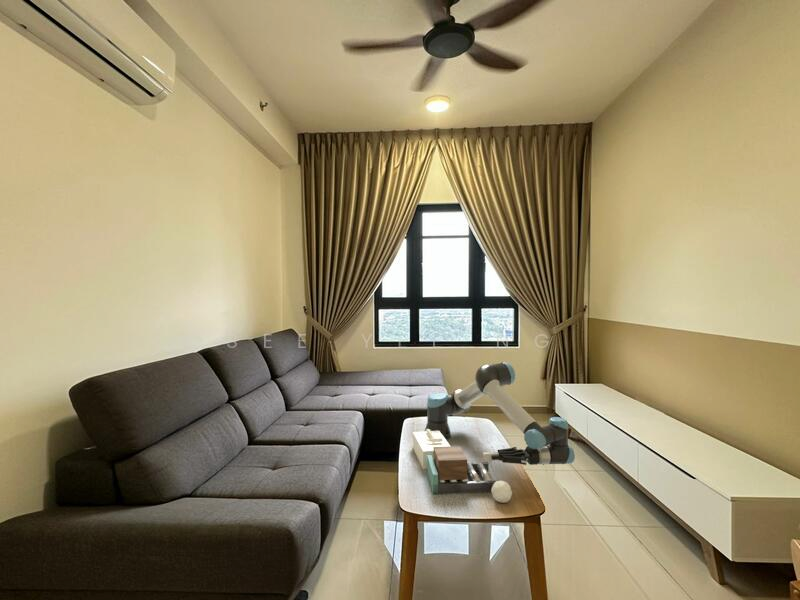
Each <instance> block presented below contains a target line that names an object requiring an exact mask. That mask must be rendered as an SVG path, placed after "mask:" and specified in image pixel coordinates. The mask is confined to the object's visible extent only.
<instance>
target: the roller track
mask: <svg viewBox="0 0 800 600" xmlns="http://www.w3.org/2000/svg"><path fill="white" fill-rule="evenodd" d="M427 466H428V465H427ZM427 471H428V470H427V469H426V472H427ZM479 473H480V475H481V478H482V479H483V480H482V479H481V478H480V477H479V475H478V474H479ZM467 474H469V476H470V479H471V481H470V480H469V478H468V477H467V479H459V480H460V481H457V480H458V479H453V480H448V481H446V480H439V479H438V484H437V485H438V488H437V486H436V485H435V484H434V486H435V487H436V489H437V491H438V494H437V493H436V494H435V495H448V494H449V495H450V494H478V493H479V494H480V493H482V494H483V493H492V492H491V489H492V486H493V484H494V483H495V482H496V481H501V480H499V479H497V480H496V479H495V480H494V479H493V478H492V477H491V475H490V474H489V463H488V461H479V462H476V461H475V462H473V461H472V462H467ZM435 487H434V488H433V489H435Z"/></svg>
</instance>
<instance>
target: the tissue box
mask: <svg viewBox="0 0 800 600" xmlns="http://www.w3.org/2000/svg"><path fill="white" fill-rule="evenodd" d="M447 440H448V439H445V438H444V436H443V435H442V434H441V432H440V431H430V429H426V431H425V430H423V431H412V450H413V451H414V453H415V456H416V457H417V460H418V462H419V464H420V466H421V468H422V469H423V470H427V455H432V458H433V461H434V447H448V446H451V445H450V444H449V442H448V441H447Z"/></svg>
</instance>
